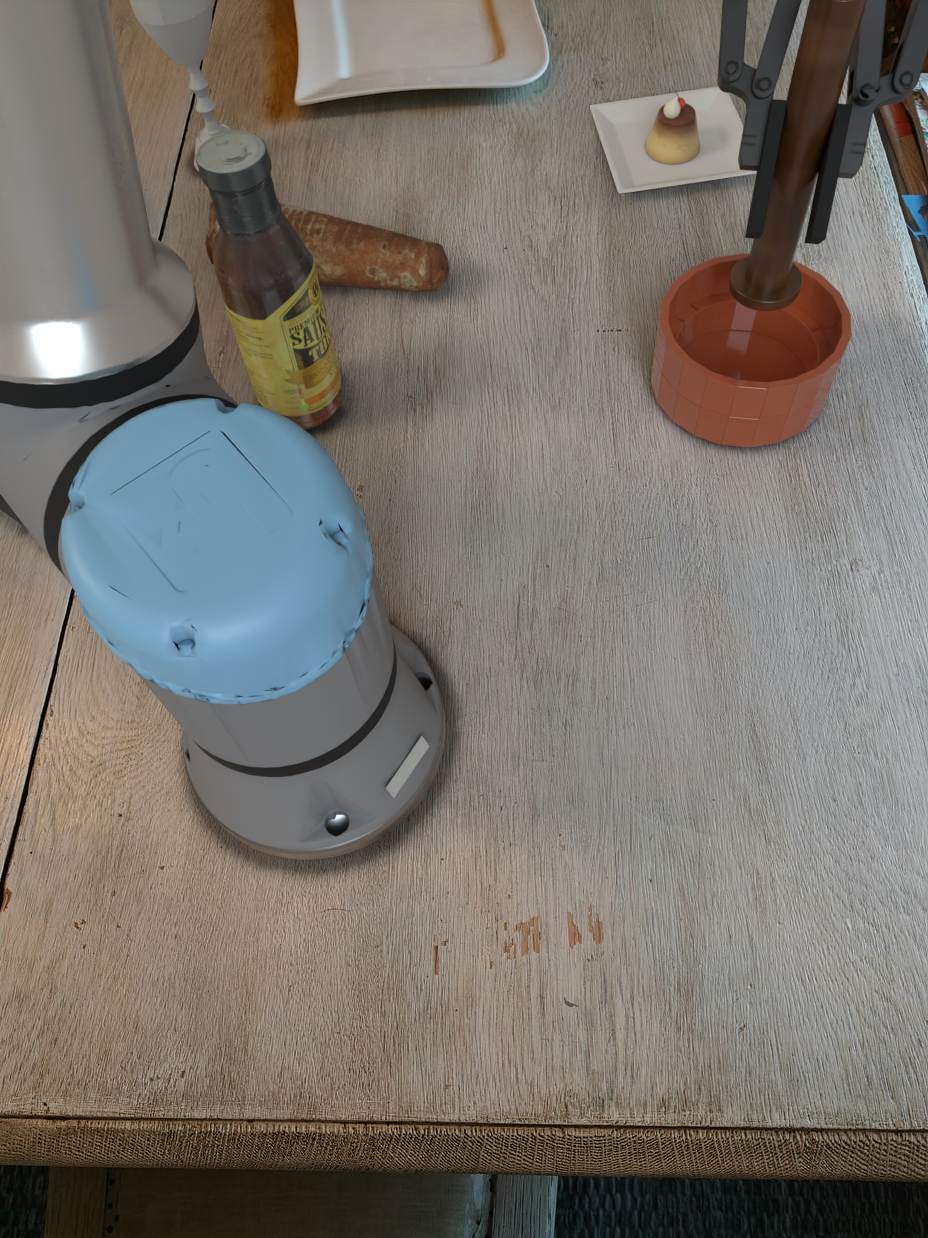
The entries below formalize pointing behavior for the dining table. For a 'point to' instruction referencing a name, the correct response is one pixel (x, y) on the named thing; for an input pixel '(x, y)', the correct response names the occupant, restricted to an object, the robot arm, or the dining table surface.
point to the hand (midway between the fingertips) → (784, 237)
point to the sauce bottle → (269, 284)
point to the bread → (360, 253)
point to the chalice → (184, 47)
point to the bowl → (746, 357)
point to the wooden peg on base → (799, 154)
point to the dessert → (670, 139)
